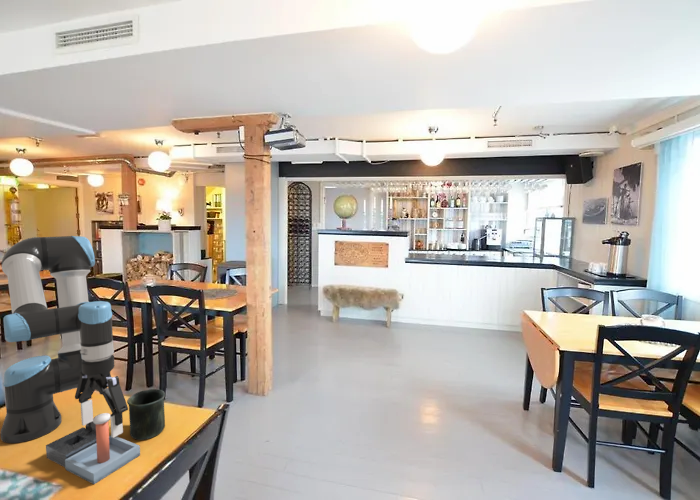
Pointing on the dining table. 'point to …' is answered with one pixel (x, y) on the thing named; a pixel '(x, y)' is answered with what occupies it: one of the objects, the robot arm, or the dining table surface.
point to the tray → (93, 471)
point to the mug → (146, 414)
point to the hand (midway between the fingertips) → (102, 428)
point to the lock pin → (102, 437)
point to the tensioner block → (71, 444)
